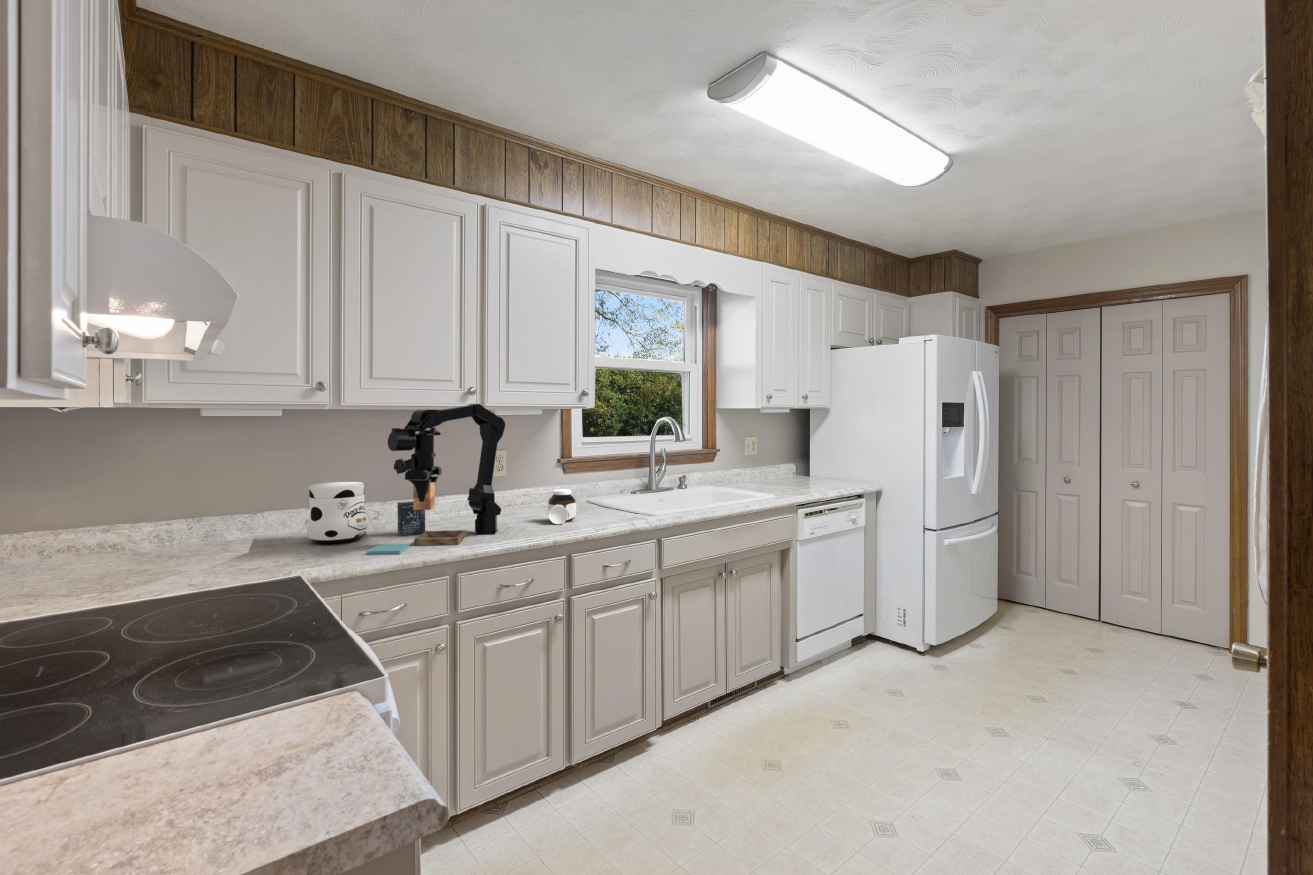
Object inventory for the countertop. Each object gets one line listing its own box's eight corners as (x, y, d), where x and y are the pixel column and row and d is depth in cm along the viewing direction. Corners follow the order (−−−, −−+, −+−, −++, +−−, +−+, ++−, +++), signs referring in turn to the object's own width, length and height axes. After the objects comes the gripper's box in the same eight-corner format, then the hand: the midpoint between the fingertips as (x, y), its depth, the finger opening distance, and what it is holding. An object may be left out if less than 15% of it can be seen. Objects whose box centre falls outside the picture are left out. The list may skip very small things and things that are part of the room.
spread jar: (570, 518, 236) (570, 488, 236) (582, 522, 227) (582, 491, 226) (540, 521, 230) (540, 490, 230) (552, 526, 220) (551, 493, 220)
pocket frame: (467, 536, 202) (466, 530, 202) (458, 544, 189) (458, 538, 189) (426, 537, 201) (426, 530, 201) (414, 545, 188) (414, 539, 188)
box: (401, 536, 202) (400, 504, 202) (397, 533, 207) (397, 502, 206) (425, 533, 207) (425, 502, 206) (421, 531, 211) (421, 500, 211)
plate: (409, 547, 186) (409, 543, 186) (399, 554, 177) (399, 550, 177) (378, 547, 185) (378, 544, 185) (367, 554, 176) (367, 551, 176)
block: (434, 507, 193) (434, 482, 192) (430, 509, 188) (430, 483, 187) (418, 507, 192) (418, 482, 192) (413, 509, 187) (413, 483, 187)
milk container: (370, 542, 193) (369, 485, 192) (306, 548, 184) (305, 488, 183) (366, 533, 208) (365, 480, 207) (307, 538, 199) (305, 483, 198)
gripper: (406, 448, 198) (406, 496, 198) (386, 451, 179) (386, 504, 180) (442, 448, 199) (441, 496, 199) (426, 451, 180) (425, 504, 181)
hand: (424, 500), depth 190 cm, fingers closed on block, 5 cm apart
